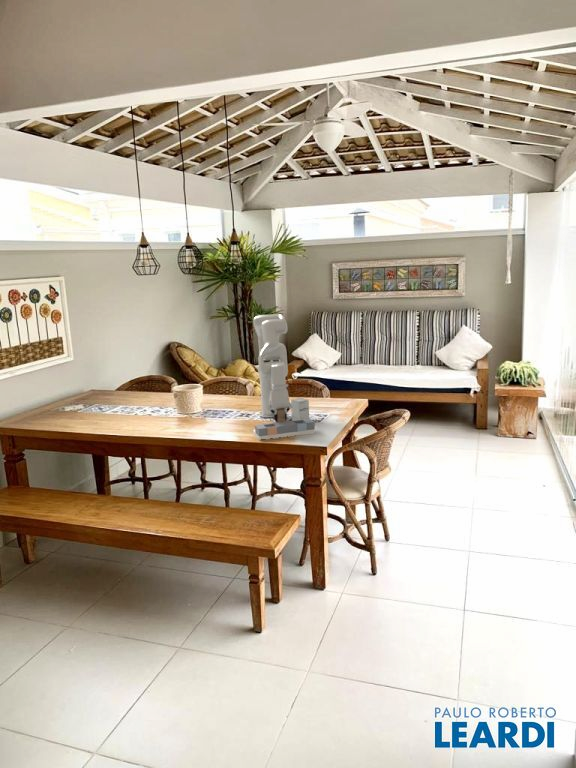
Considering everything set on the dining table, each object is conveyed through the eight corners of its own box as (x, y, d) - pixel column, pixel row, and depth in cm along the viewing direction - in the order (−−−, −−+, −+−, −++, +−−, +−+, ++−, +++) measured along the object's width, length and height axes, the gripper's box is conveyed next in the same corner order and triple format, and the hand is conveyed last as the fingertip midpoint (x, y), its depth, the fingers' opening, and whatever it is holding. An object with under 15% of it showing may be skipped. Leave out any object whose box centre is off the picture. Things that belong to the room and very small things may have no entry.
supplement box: (299, 423, 334) (298, 401, 331) (291, 421, 339) (290, 399, 337) (309, 421, 338) (308, 399, 335) (301, 418, 344) (300, 397, 341)
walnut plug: (276, 426, 321) (275, 407, 319) (283, 425, 322) (282, 407, 320) (278, 427, 317) (277, 409, 315) (285, 426, 318) (284, 408, 316)
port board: (252, 433, 318) (252, 422, 317) (306, 426, 326) (305, 416, 325) (259, 440, 304) (258, 429, 303) (315, 433, 312) (314, 422, 311)
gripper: (291, 384, 321) (293, 417, 325) (261, 387, 316) (263, 421, 320) (296, 387, 314) (297, 420, 318) (265, 390, 309) (267, 424, 313)
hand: (280, 420), depth 319 cm, fingers closed on walnut plug, 4 cm apart
